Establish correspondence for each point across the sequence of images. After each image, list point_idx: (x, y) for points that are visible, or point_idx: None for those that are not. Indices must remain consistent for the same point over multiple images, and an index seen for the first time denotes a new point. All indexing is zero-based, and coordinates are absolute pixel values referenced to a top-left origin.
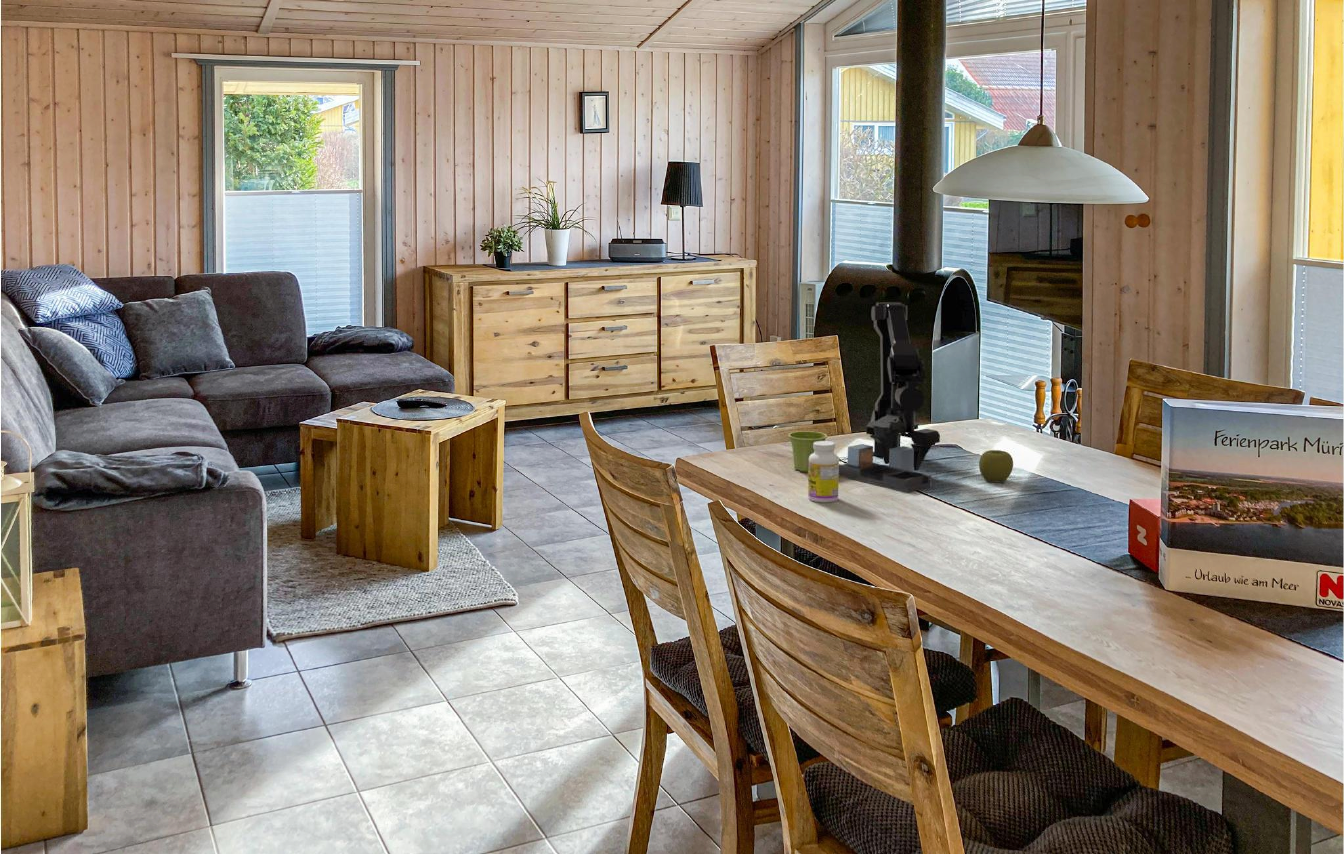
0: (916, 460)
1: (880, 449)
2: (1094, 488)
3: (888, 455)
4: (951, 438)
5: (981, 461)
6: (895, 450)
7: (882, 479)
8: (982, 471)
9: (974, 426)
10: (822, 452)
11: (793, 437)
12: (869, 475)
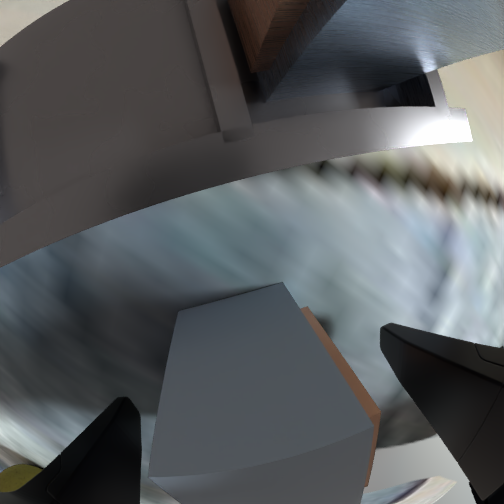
0: (71, 444)
1: (482, 346)
2: None
3: (413, 379)
4: (426, 491)
5: None
6: (244, 462)
7: (9, 64)
8: (17, 477)
9: (431, 500)
10: None
11: None
12: (133, 11)
